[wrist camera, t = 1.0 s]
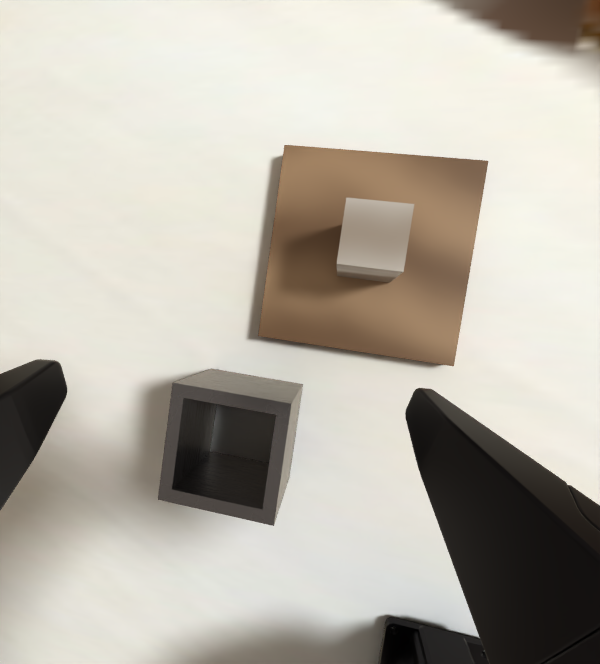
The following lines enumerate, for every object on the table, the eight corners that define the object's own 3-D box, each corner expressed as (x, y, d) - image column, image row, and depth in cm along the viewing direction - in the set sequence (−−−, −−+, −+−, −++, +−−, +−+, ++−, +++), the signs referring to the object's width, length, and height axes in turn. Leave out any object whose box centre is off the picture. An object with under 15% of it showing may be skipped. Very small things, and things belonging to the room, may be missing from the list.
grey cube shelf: (289, 477, 21) (273, 525, 16) (199, 459, 22) (157, 499, 17) (302, 384, 21) (291, 403, 16) (211, 368, 21) (172, 382, 16)
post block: (447, 363, 19) (485, 377, 15) (261, 335, 21) (237, 339, 16) (480, 169, 19) (530, 114, 14) (287, 153, 20) (270, 99, 15)
